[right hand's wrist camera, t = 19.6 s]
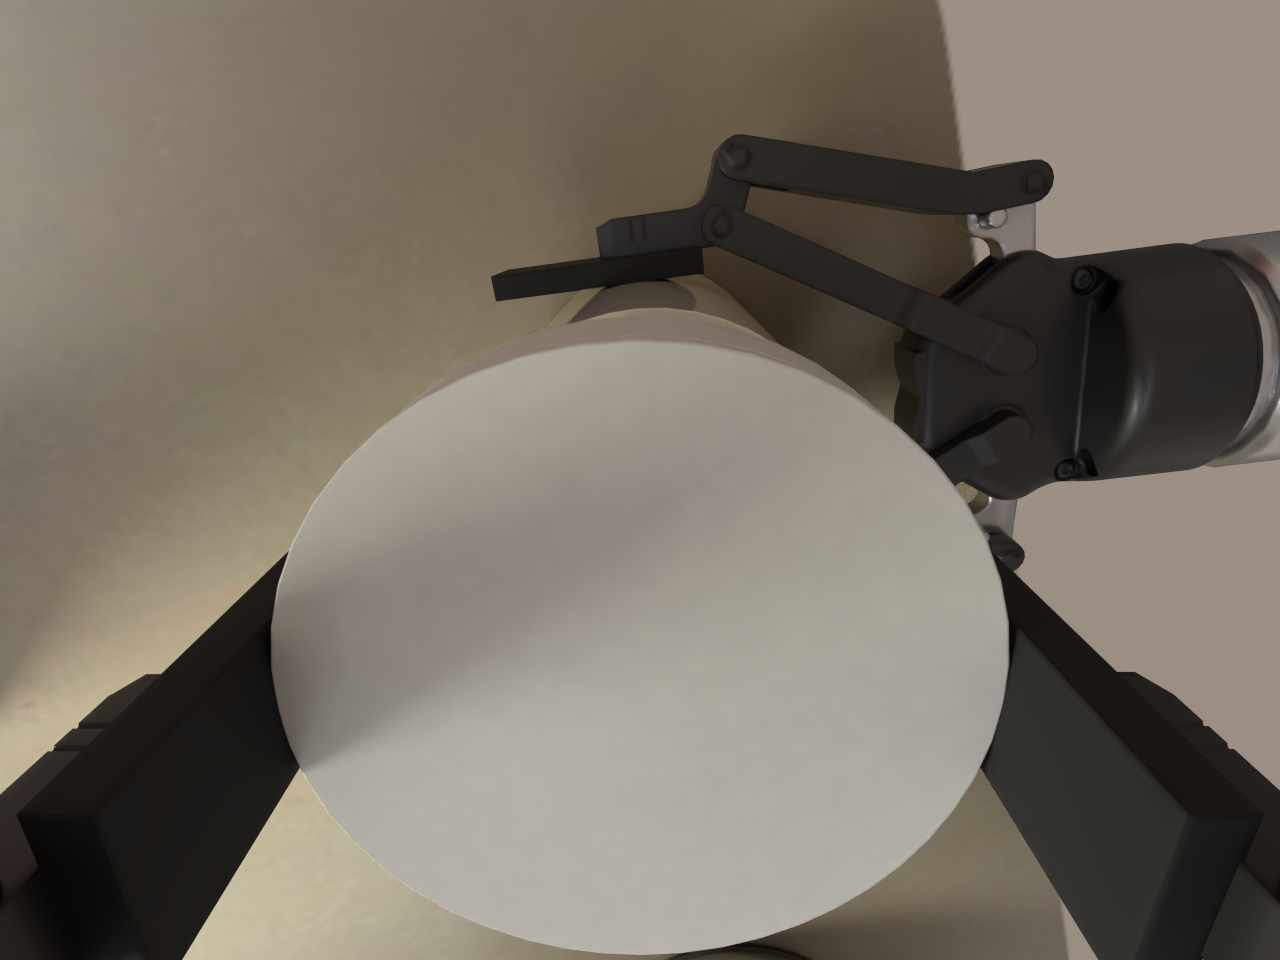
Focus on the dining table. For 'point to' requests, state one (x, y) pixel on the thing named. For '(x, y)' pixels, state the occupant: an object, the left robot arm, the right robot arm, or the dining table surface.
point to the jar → (662, 304)
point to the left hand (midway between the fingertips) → (532, 437)
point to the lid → (640, 640)
